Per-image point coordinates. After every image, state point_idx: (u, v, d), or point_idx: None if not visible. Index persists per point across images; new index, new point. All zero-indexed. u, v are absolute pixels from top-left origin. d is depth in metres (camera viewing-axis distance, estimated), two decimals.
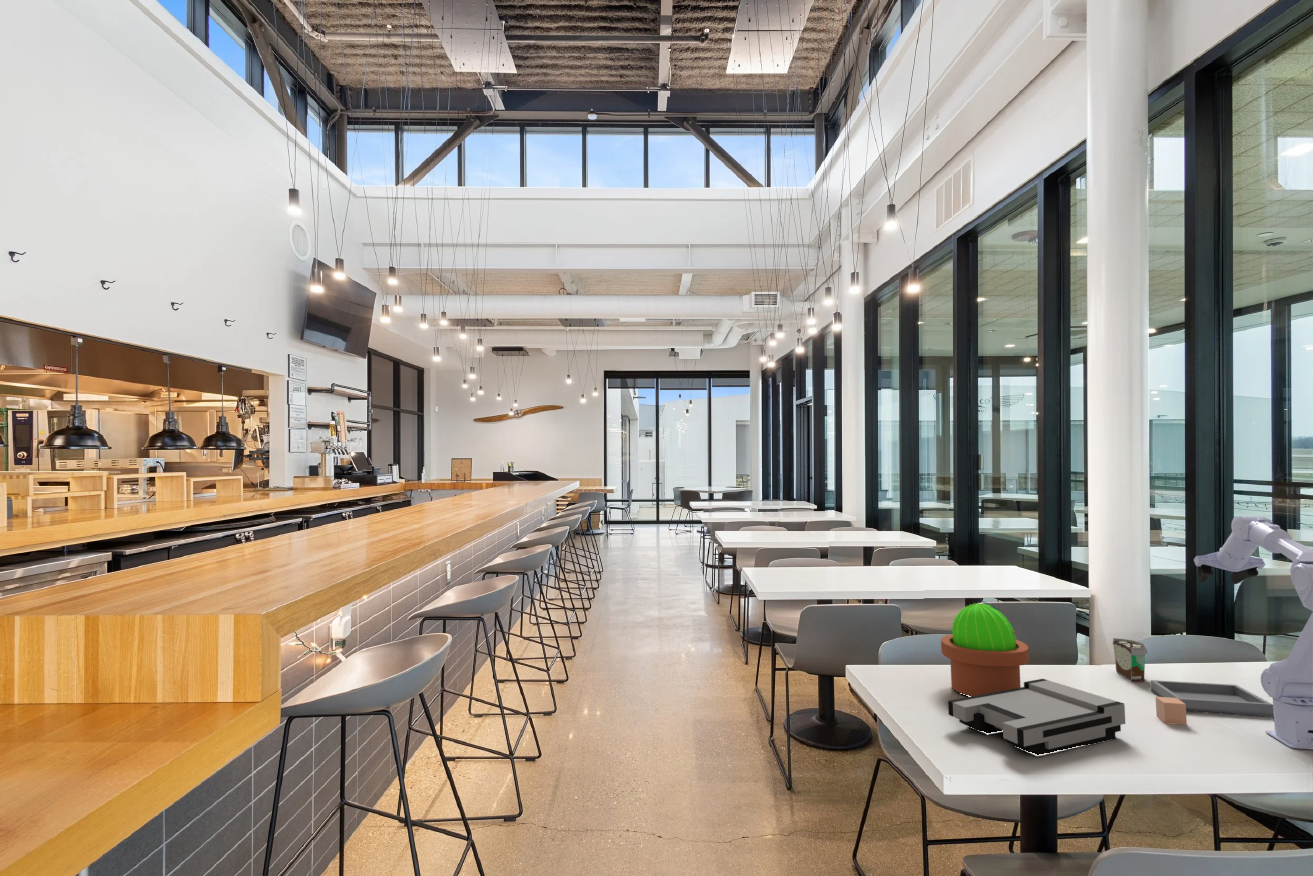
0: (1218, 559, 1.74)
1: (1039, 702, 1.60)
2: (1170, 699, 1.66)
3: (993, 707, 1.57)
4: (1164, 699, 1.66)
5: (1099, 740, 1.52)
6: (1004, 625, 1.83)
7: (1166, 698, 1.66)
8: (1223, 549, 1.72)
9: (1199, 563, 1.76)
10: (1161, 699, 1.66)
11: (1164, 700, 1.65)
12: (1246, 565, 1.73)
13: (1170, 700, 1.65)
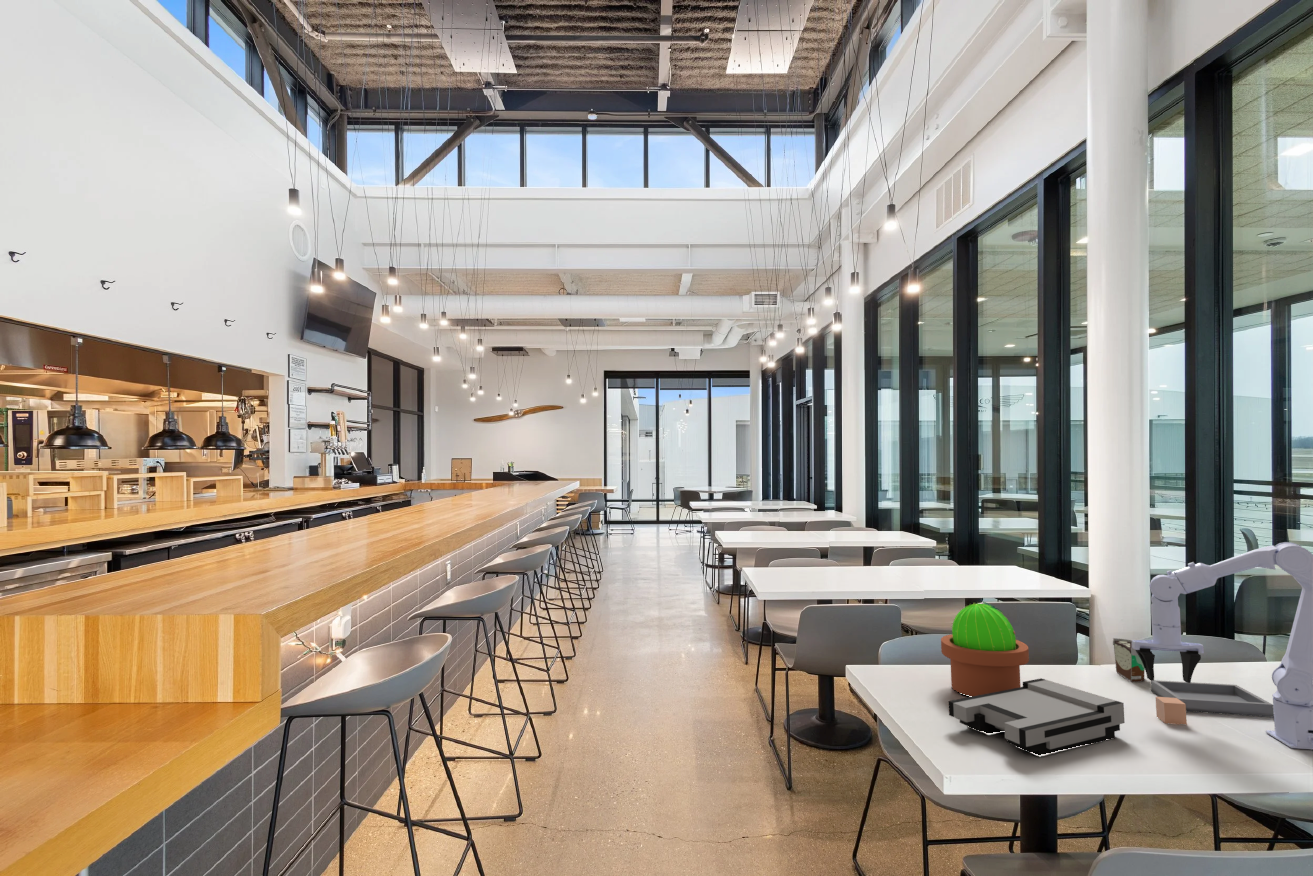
0: (1153, 640, 1.67)
1: (1039, 701, 1.60)
2: (1170, 699, 1.66)
3: (994, 707, 1.57)
4: (1164, 699, 1.66)
5: (1099, 739, 1.53)
6: (1004, 625, 1.83)
7: (1166, 699, 1.66)
8: (1152, 624, 1.67)
9: (1136, 644, 1.67)
10: (1161, 699, 1.66)
11: (1164, 700, 1.65)
12: None
13: (1170, 700, 1.65)
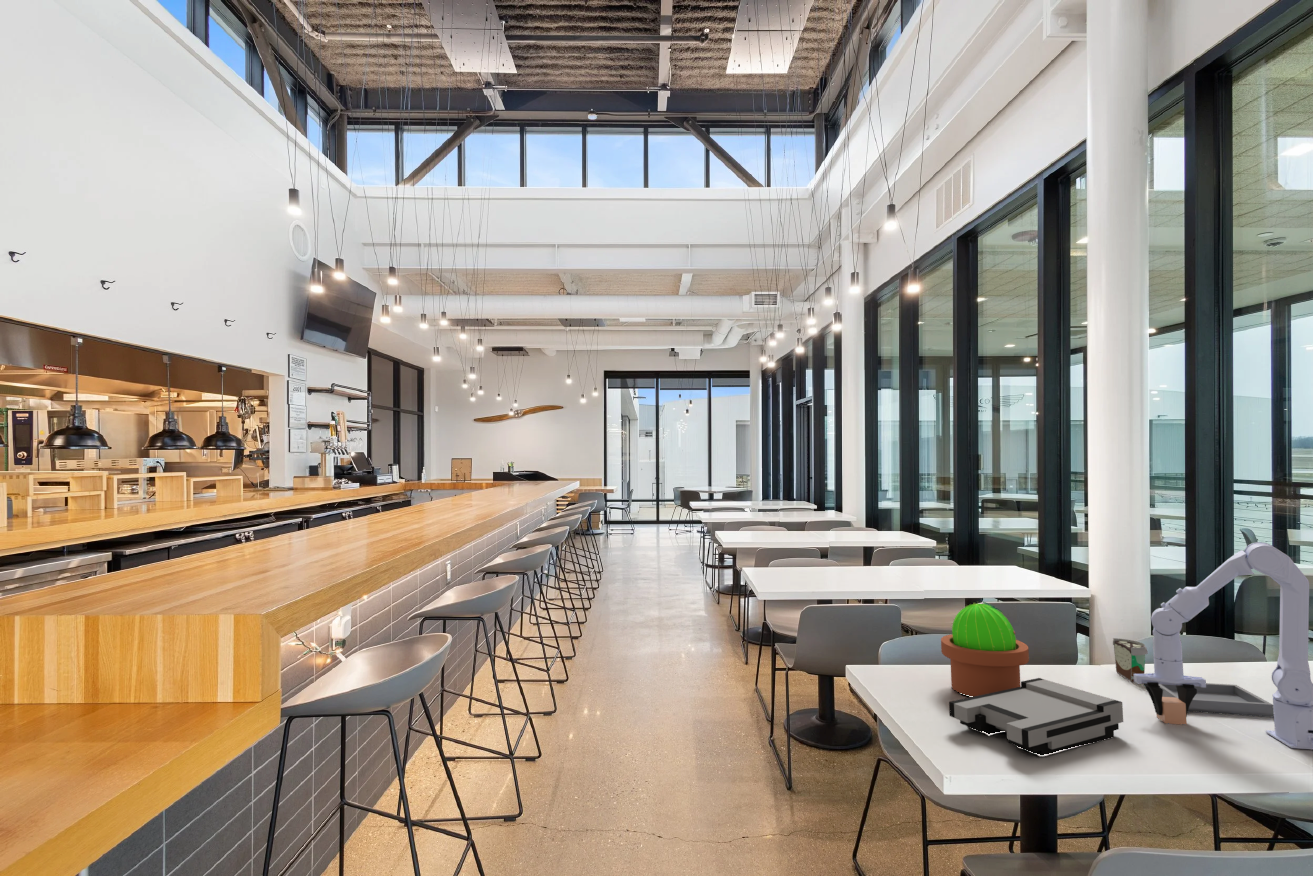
0: (1155, 674, 1.66)
1: (1039, 701, 1.61)
2: (1170, 699, 1.66)
3: (994, 707, 1.57)
4: (1164, 698, 1.66)
5: (1099, 739, 1.53)
6: (1004, 625, 1.83)
7: (1165, 698, 1.66)
8: (1154, 658, 1.67)
9: (1138, 678, 1.66)
10: None
11: (1164, 700, 1.65)
12: None
13: (1170, 700, 1.65)
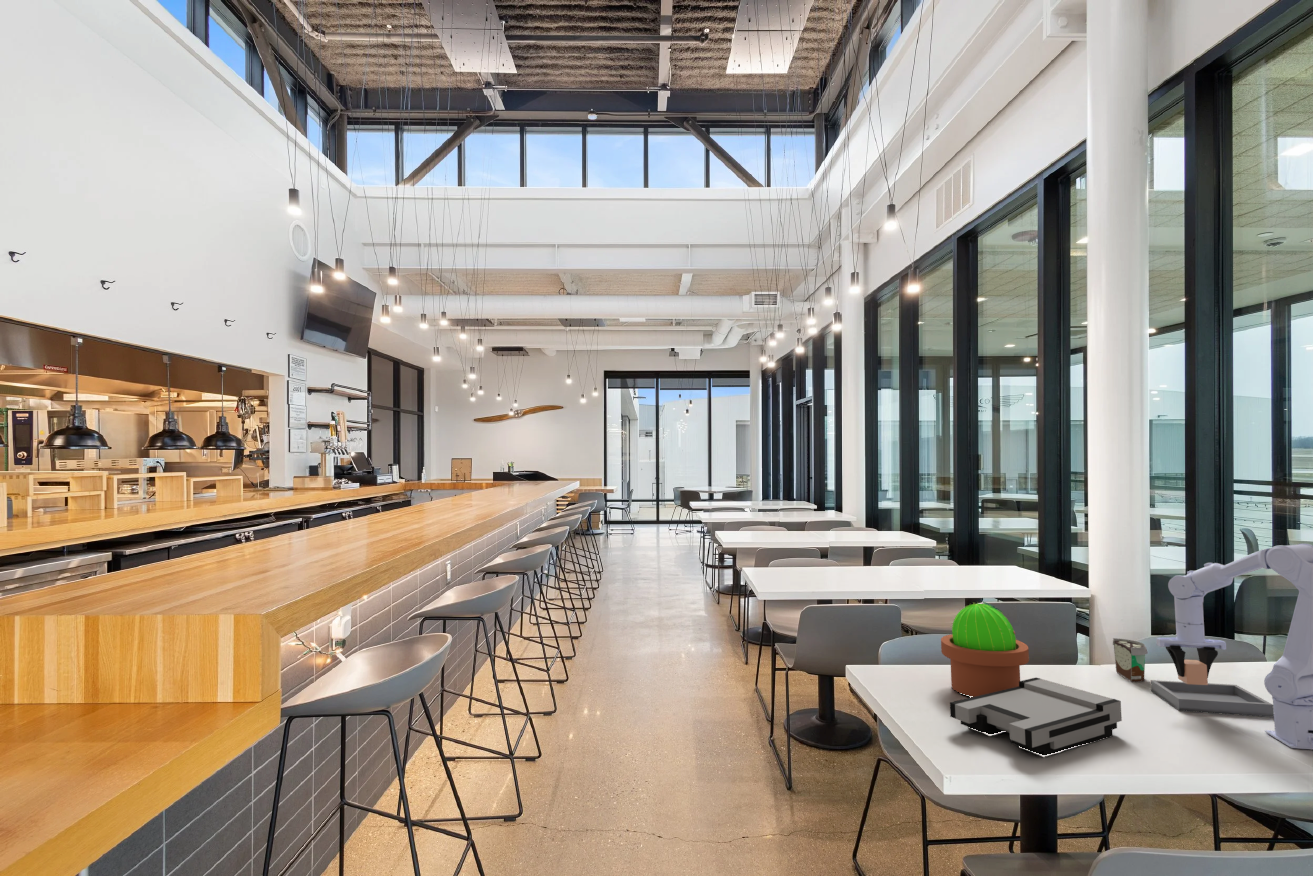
0: (1178, 637, 1.73)
1: (1038, 701, 1.61)
2: (1191, 661, 1.73)
3: (995, 708, 1.57)
4: (1186, 661, 1.73)
5: (1098, 738, 1.54)
6: (1004, 625, 1.83)
7: (1187, 661, 1.74)
8: (1176, 622, 1.74)
9: (1161, 642, 1.73)
10: None
11: (1186, 662, 1.72)
12: None
13: (1192, 662, 1.72)
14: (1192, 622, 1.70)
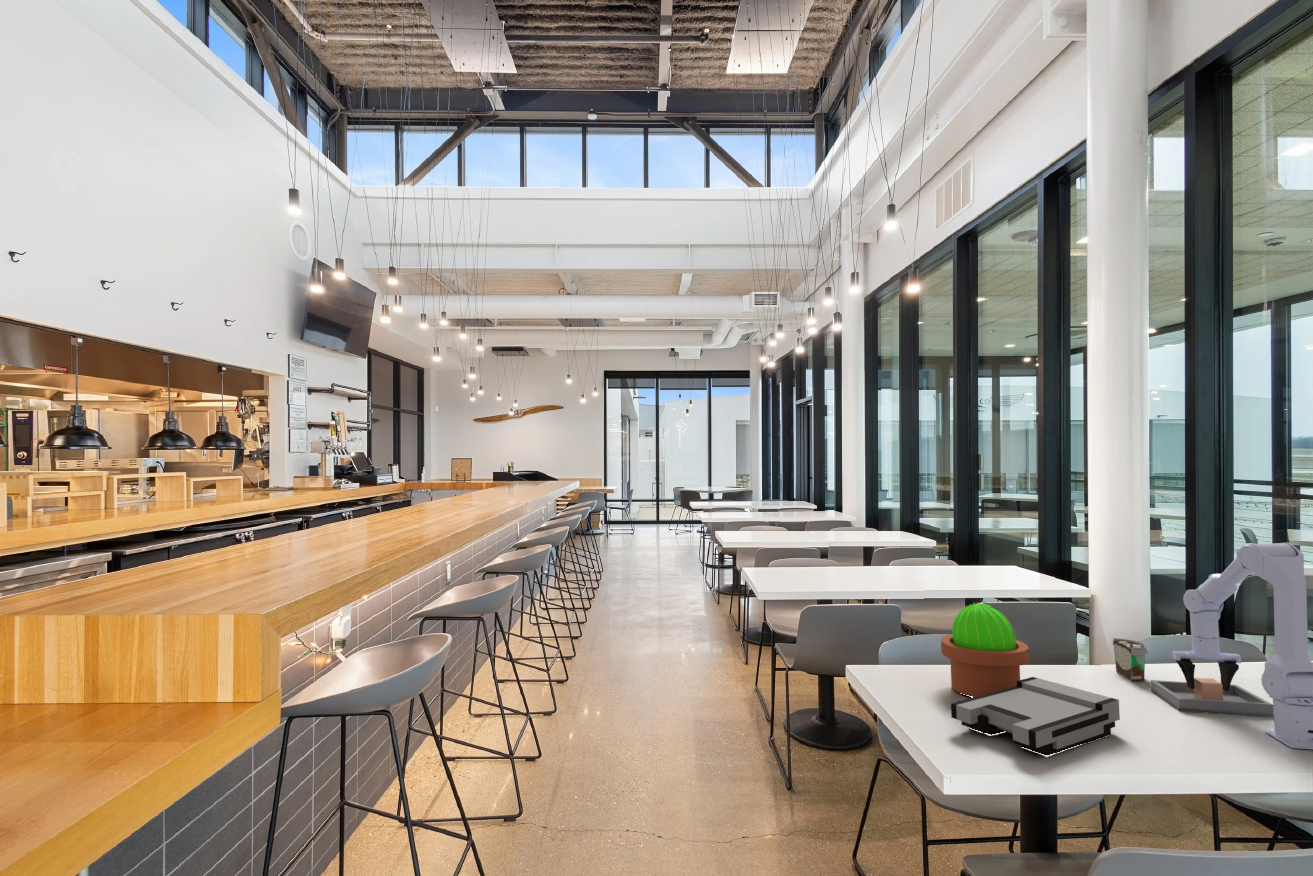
0: (1193, 651, 1.78)
1: (1038, 701, 1.61)
2: (1207, 680, 1.77)
3: (996, 708, 1.57)
4: (1202, 679, 1.78)
5: (1097, 737, 1.54)
6: (1004, 625, 1.83)
7: (1203, 679, 1.78)
8: (1192, 636, 1.78)
9: (1177, 655, 1.78)
10: (1199, 680, 1.77)
11: (1202, 680, 1.77)
12: None
13: (1207, 681, 1.76)
14: (1203, 636, 1.75)
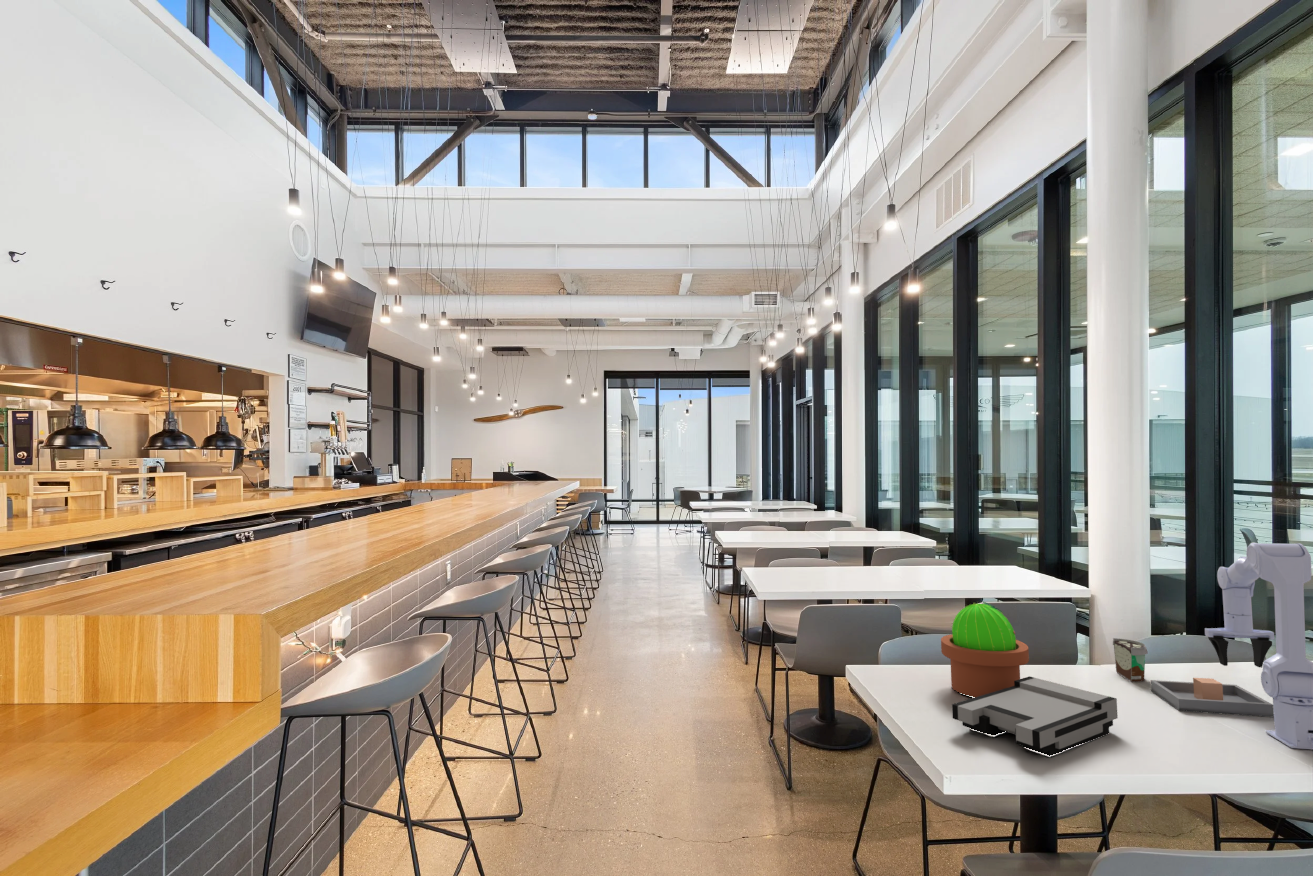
0: (1226, 628, 1.78)
1: (1037, 700, 1.61)
2: (1207, 680, 1.77)
3: (998, 708, 1.56)
4: (1202, 679, 1.78)
5: (1097, 736, 1.55)
6: (1004, 625, 1.83)
7: (1203, 679, 1.78)
8: (1224, 613, 1.79)
9: (1210, 632, 1.79)
10: (1199, 680, 1.77)
11: (1202, 680, 1.77)
12: None
13: (1207, 681, 1.76)
14: (1231, 612, 1.77)
